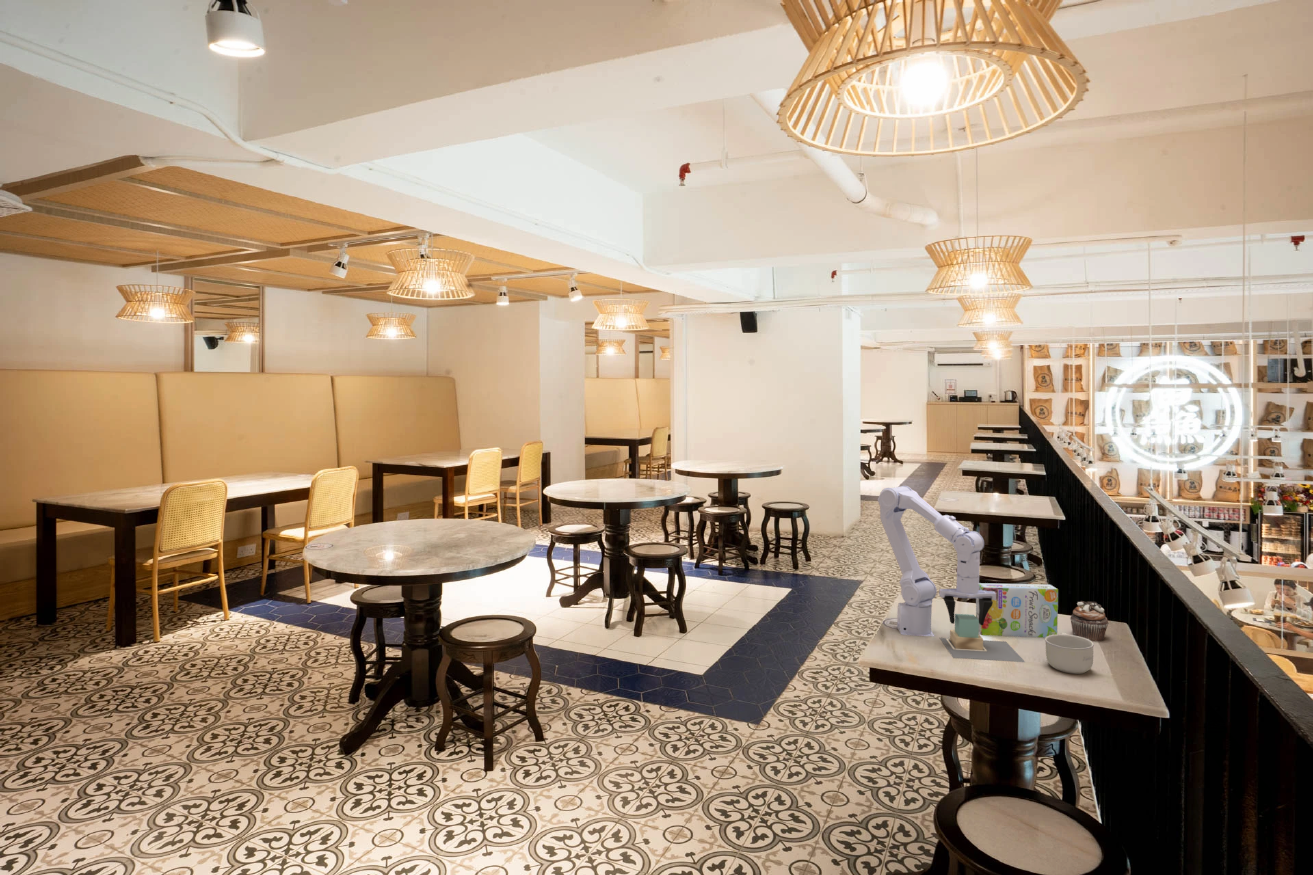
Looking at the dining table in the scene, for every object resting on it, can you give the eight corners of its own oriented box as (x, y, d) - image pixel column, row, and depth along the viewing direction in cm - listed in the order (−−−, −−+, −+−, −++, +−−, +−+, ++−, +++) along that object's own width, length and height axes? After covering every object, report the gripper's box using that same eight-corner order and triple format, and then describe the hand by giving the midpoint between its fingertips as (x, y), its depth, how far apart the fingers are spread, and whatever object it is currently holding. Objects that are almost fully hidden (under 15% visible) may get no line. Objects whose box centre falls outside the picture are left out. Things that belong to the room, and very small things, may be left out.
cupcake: (1062, 630, 212) (1064, 597, 212) (1095, 631, 212) (1097, 598, 211) (1080, 641, 203) (1082, 607, 202) (1115, 642, 202) (1116, 607, 202)
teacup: (1092, 682, 174) (1093, 650, 173) (1042, 672, 180) (1043, 642, 179) (1092, 664, 186) (1094, 634, 185) (1046, 656, 191) (1046, 627, 191)
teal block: (959, 636, 196) (959, 619, 196) (954, 631, 201) (955, 613, 200) (978, 637, 195) (978, 620, 195) (973, 631, 200) (973, 614, 200)
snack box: (1048, 633, 210) (1050, 583, 209) (1057, 640, 204) (1059, 588, 203) (974, 631, 212) (976, 581, 211) (981, 637, 206) (982, 586, 205)
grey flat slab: (953, 659, 188) (953, 657, 188) (939, 639, 204) (939, 637, 204) (1025, 664, 185) (1025, 661, 185) (1006, 643, 201) (1006, 641, 201)
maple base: (956, 648, 195) (956, 637, 195) (949, 639, 202) (950, 629, 202) (982, 649, 194) (983, 639, 194) (975, 641, 201) (976, 631, 201)
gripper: (943, 577, 194) (942, 626, 195) (1000, 580, 192) (998, 629, 193) (938, 571, 201) (936, 618, 202) (992, 573, 199) (990, 621, 200)
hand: (966, 623), depth 198 cm, fingers open, 7 cm apart
